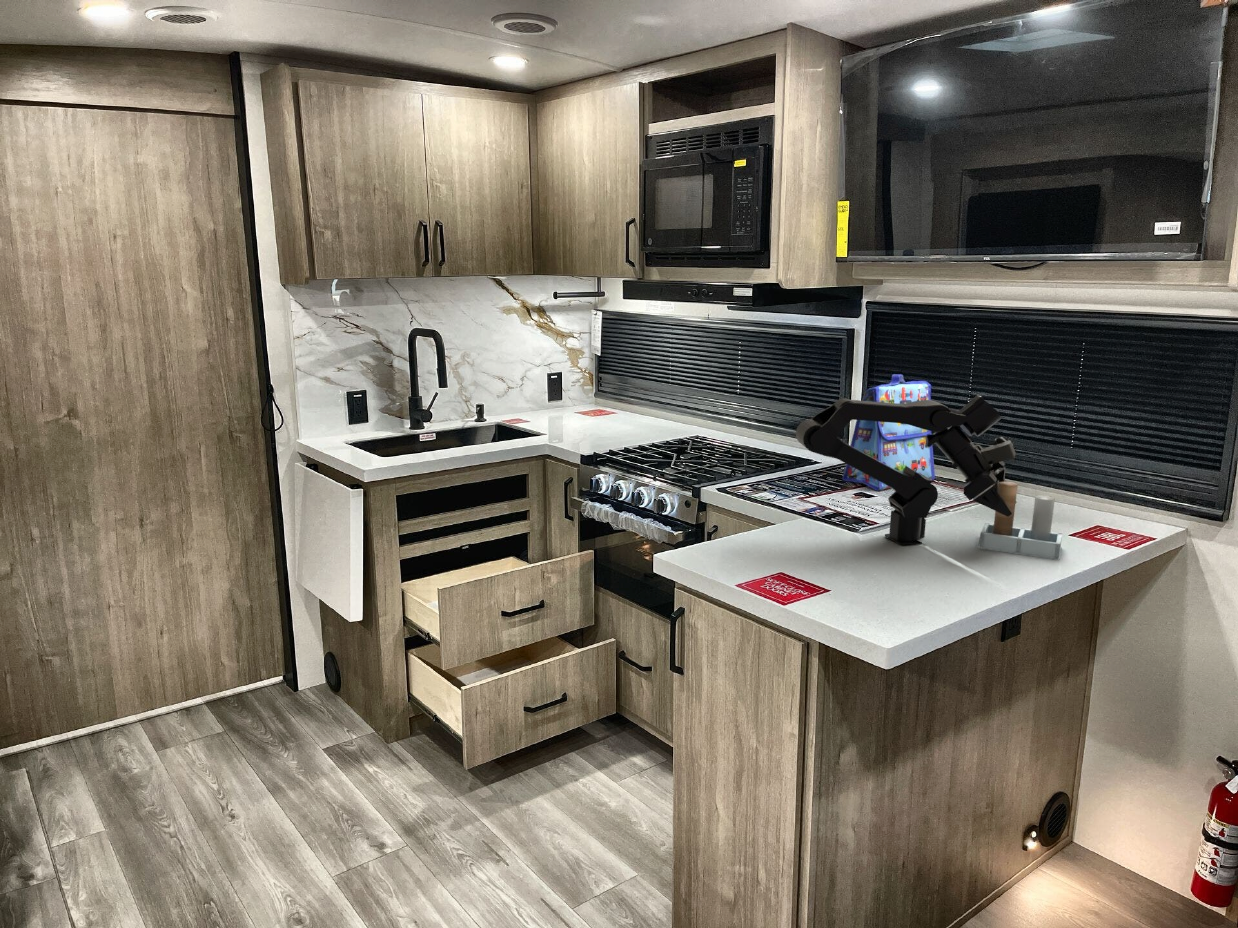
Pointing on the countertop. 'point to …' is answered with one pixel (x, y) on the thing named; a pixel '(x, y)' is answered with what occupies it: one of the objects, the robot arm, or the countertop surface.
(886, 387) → the lunch bag
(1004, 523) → the walnut peg
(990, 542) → the slot rack
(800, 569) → the countertop surface
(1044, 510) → the grey peg
